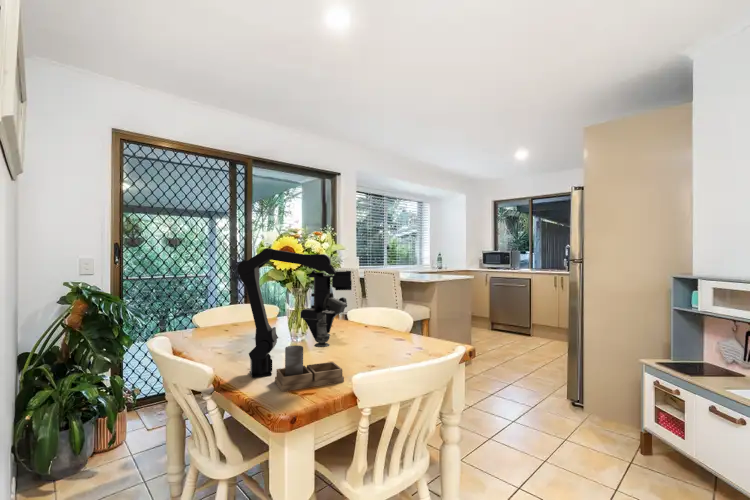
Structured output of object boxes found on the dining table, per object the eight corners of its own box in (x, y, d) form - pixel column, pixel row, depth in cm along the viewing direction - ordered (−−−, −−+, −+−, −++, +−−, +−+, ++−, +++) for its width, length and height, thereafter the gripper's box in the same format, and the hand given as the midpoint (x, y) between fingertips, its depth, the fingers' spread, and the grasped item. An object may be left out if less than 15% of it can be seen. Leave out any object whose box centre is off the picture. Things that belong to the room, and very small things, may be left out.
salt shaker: (333, 345, 130) (333, 310, 130) (319, 348, 126) (319, 312, 126) (324, 342, 134) (324, 308, 134) (310, 345, 131) (310, 310, 131)
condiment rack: (281, 391, 113) (281, 353, 113) (274, 381, 122) (275, 345, 122) (344, 381, 121) (344, 346, 122) (333, 372, 130) (333, 339, 131)
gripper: (329, 294, 119) (329, 343, 119) (354, 288, 136) (354, 332, 136) (299, 292, 123) (299, 340, 123) (327, 287, 140) (327, 329, 140)
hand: (321, 335), depth 130 cm, fingers closed on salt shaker, 8 cm apart
